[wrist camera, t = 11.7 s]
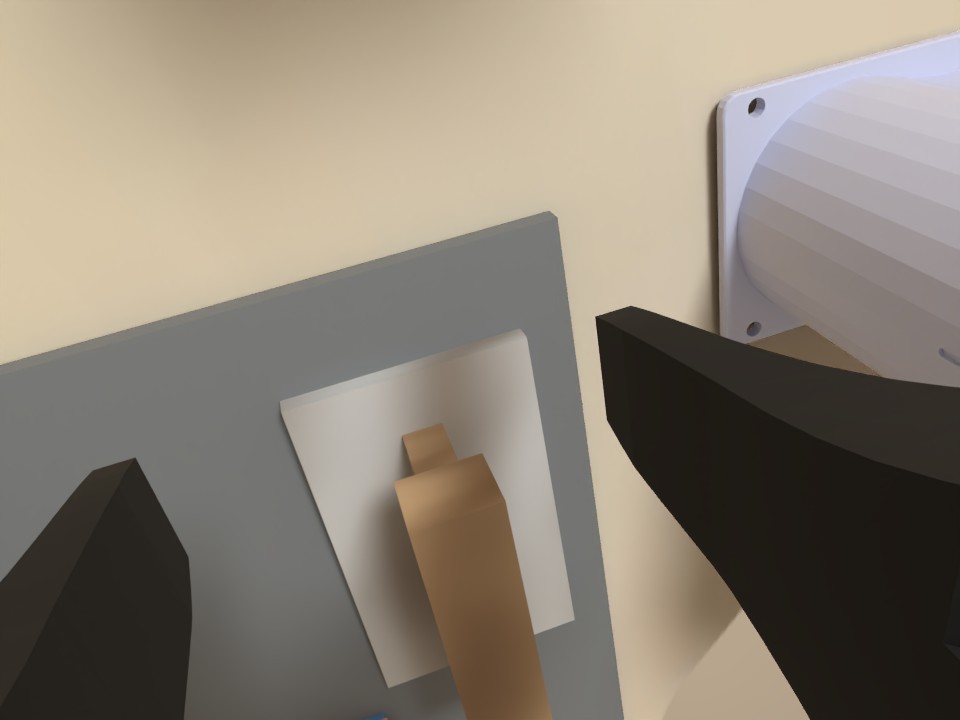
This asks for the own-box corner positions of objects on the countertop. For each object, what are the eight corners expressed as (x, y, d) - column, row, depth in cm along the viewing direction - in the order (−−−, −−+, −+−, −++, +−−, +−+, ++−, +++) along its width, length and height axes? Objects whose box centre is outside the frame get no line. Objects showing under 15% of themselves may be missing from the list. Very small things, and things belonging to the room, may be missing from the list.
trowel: (520, 328, 22) (588, 421, 18) (568, 607, 28) (628, 725, 24) (279, 400, 21) (291, 518, 17) (385, 673, 27) (413, 809, 23)
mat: (549, 210, 21) (557, 217, 21) (623, 748, 35) (629, 760, 34) (-281, 443, 18) (-296, 458, 18) (156, 934, 32) (155, 950, 31)
